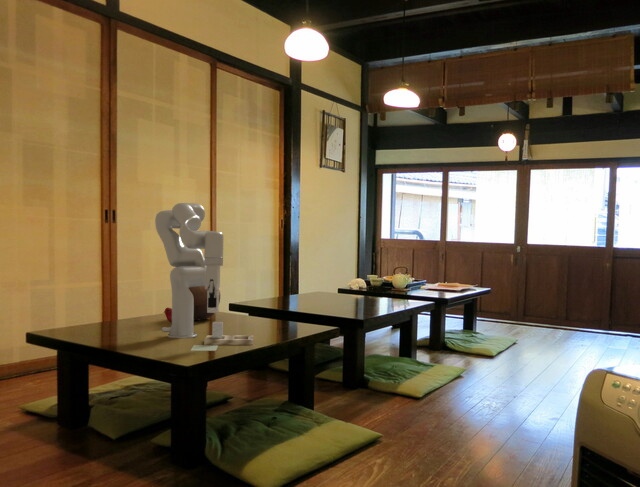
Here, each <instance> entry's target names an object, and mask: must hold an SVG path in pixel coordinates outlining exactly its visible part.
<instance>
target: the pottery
mask: <svg viewBox="0 0 640 487" xmlns="http://www.w3.org/2000/svg"><path fill="white" fill-rule="evenodd" d="M189 290H190V291H191V293H192V294H193V297H194V320H193V321H203V320H206V319H210V318H211V317H213V316H214V314H215V313H207V291H208V290H209V289H208V290H205V286H201V287H189ZM220 303H221V290H219V304H220Z"/></svg>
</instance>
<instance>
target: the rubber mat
mask: <svg viewBox="0 0 640 487" xmlns="http://www.w3.org/2000/svg"><path fill="white" fill-rule="evenodd" d="M218 348H219V345H204V344H193V346H192V348H191V349H190V351H191V352H194V351H196V352H197V351H199V352H200V351H201V352H202V351H203V352H206V351H210V352H212V351H213V352H214V351H215V352H216V351H217V349H218Z"/></svg>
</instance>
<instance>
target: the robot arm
mask: <svg viewBox="0 0 640 487" xmlns="http://www.w3.org/2000/svg"><path fill="white" fill-rule="evenodd" d="M205 217H206V211H205V208H204V207H203V206H202V205H201V203H200V204H199V203H196V202H195V203H193V202H190V203H189V202H178V203H176V204H174V206H172V209H170V210H169V209H165V210H161V211H159V212H157V213H156V214H155V220H154V221H155V222H154V224H155V230H156V232H157V235H158V236H159V238H160V240H161V242H162V244H163V247H164V251H165V254H166V257H167V260H168V263H169V265H170V267H173V268H172V269H171V271H170V272H169V281H170V286H171V288H170V289H171V309H172V323H171V326H169V327H161V332H162V333H168V334H167V337H168V338H170V339H193V338H197V335H198V334H197V332H194V321H195V320H194V297H193V294H192V293H191V291H190V290H189V287H201V286H205V290H208V289H209V295H208V308H216V290H217V289H220V287H221V286H220V285H221V284H220V283H221V267H223V266H224V233H223V232H222V231H215V230H200V228H201V226H202V222H203V220H204V219H205ZM174 229H179V230H178V231H179V232H178V233H177V232H176V231H175V230H174ZM201 249H202V250H204V253H203V251H202V250H201ZM213 289H215V290H213Z"/></svg>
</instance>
